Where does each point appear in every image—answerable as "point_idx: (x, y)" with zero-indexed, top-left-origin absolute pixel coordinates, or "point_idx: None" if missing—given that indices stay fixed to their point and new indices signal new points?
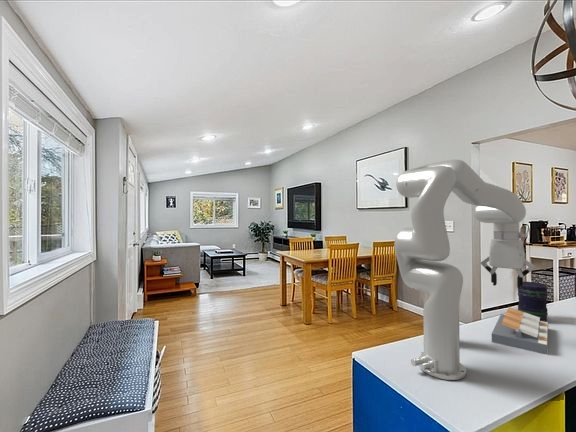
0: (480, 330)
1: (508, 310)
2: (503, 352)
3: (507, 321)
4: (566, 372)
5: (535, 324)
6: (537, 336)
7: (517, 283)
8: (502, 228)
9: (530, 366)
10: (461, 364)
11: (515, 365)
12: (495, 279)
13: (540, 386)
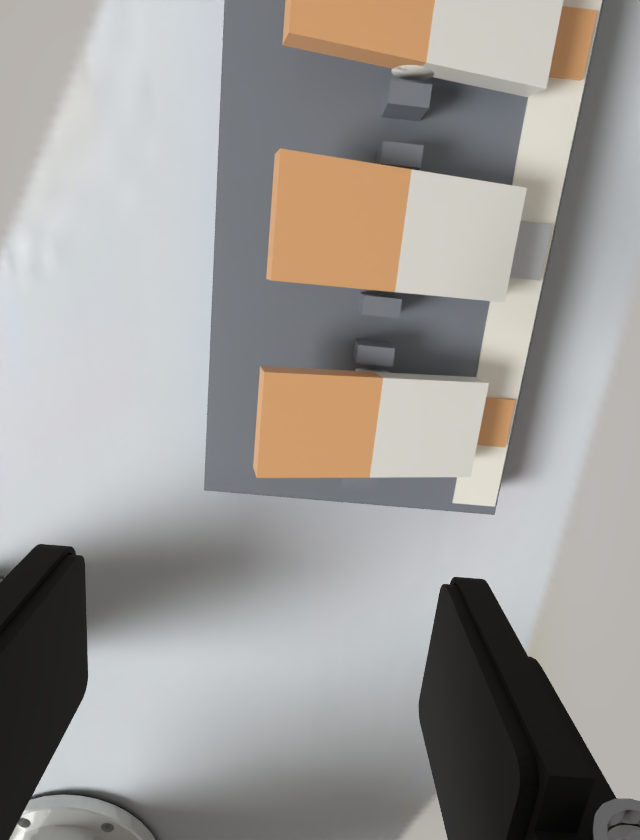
0: (127, 287)
1: (298, 36)
2: (278, 579)
3: (291, 438)
4: None
5: (492, 252)
6: None
7: (439, 795)
8: None
9: (383, 665)
10: (133, 837)
11: (326, 688)
12: (27, 803)
13: (397, 800)
